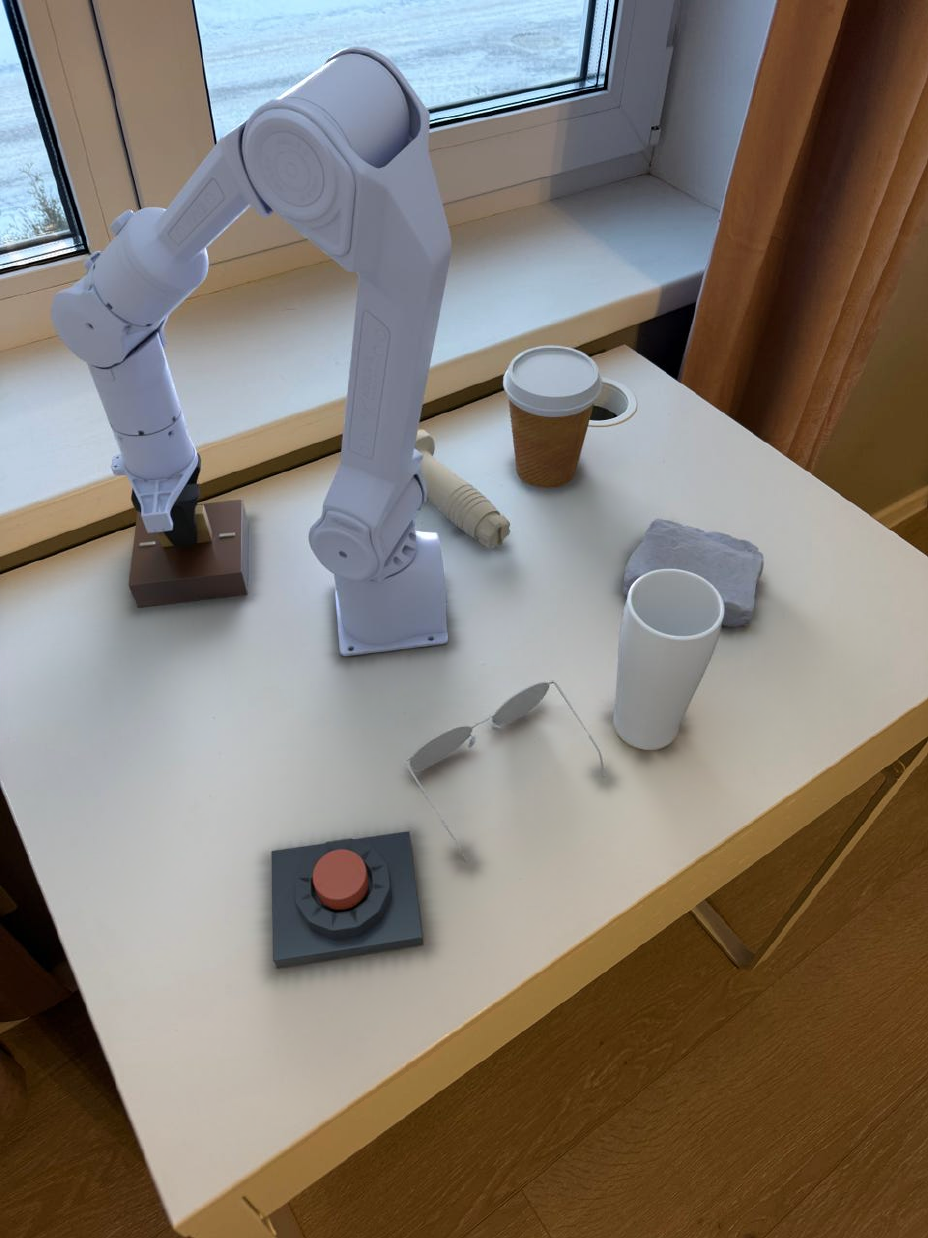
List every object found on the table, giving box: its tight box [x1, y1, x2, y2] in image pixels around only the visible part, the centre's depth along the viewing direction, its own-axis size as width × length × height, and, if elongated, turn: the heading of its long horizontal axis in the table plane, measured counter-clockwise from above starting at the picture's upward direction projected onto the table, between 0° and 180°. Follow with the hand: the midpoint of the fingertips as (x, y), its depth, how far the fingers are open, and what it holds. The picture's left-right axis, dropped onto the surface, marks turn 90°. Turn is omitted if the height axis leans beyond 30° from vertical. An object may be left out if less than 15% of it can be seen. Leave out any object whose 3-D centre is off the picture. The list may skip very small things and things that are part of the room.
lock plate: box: [127, 499, 249, 608], centre depth 84 cm, size 10×10×3 cm
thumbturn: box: [157, 505, 212, 547], centre depth 82 cm, size 4×1×4 cm, turn 99°
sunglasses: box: [404, 679, 606, 862], centre depth 68 cm, size 14×8×5 cm, turn 122°
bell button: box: [313, 849, 369, 910], centre depth 61 cm, size 4×4×2 cm
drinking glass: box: [612, 569, 725, 751], centre depth 67 cm, size 7×7×15 cm
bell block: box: [270, 830, 425, 969], centre depth 62 cm, size 10×8×3 cm
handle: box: [414, 428, 511, 549], centre depth 89 cm, size 5×6×15 cm
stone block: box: [622, 518, 765, 628], centre depth 82 cm, size 12×5×10 cm
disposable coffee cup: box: [502, 345, 603, 489], centre depth 90 cm, size 10×10×12 cm
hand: (186, 536), depth 83 cm, fingers closed on thumbturn
